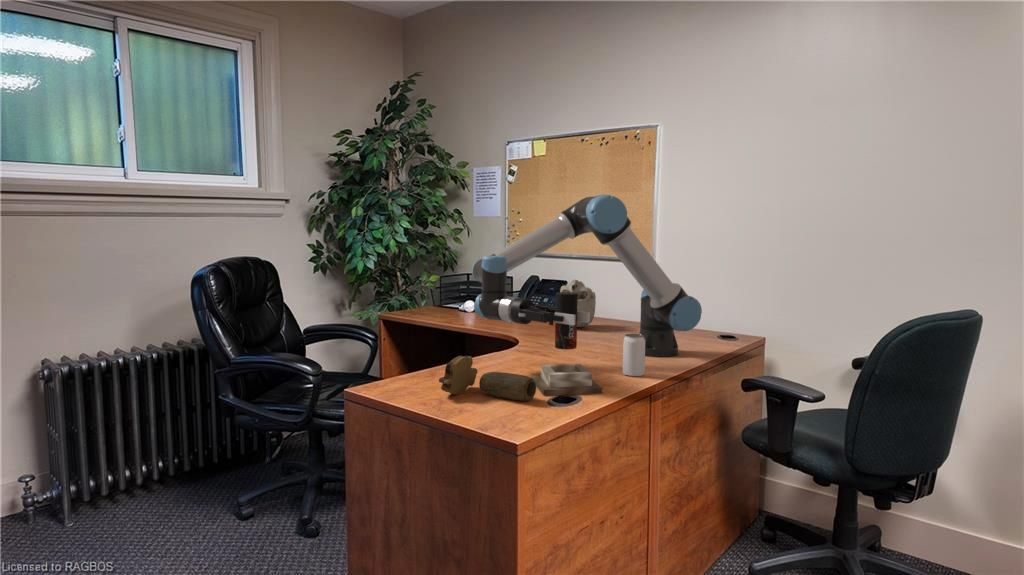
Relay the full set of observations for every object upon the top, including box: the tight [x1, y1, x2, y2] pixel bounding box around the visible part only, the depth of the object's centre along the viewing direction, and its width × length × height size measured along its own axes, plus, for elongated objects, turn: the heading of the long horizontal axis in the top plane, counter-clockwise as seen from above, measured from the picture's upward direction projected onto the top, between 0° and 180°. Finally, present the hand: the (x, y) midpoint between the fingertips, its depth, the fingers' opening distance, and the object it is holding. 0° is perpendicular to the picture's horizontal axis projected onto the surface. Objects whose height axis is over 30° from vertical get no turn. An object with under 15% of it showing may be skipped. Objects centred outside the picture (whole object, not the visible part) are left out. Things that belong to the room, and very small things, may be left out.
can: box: [622, 333, 646, 377], centre depth 183 cm, size 6×6×12 cm
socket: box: [531, 363, 603, 397], centre depth 168 cm, size 16×16×5 cm
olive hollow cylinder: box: [478, 371, 537, 402], centre depth 157 cm, size 15×7×7 cm, turn 60°
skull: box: [559, 279, 597, 328], centre depth 267 cm, size 20×15×22 cm
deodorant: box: [554, 291, 578, 350], centre depth 167 cm, size 6×6×15 cm
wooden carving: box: [438, 355, 478, 396], centre depth 161 cm, size 16×5×10 cm, turn 159°
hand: (581, 318), depth 163 cm, fingers closed on deodorant, 6 cm apart
